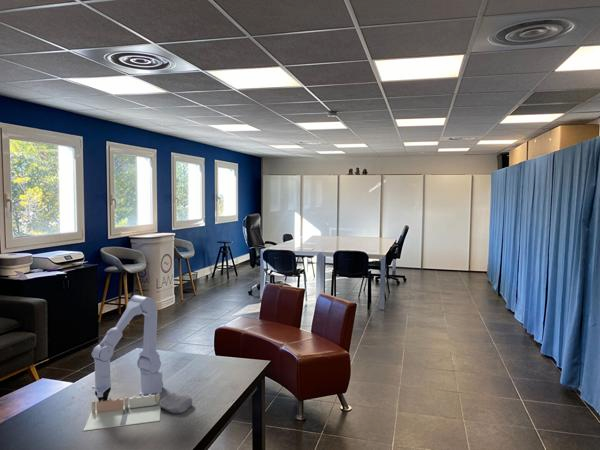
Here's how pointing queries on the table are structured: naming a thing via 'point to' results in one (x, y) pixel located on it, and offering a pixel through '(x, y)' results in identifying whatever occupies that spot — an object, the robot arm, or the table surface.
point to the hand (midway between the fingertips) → (103, 406)
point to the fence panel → (107, 405)
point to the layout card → (123, 417)
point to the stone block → (176, 403)
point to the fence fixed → (142, 401)
